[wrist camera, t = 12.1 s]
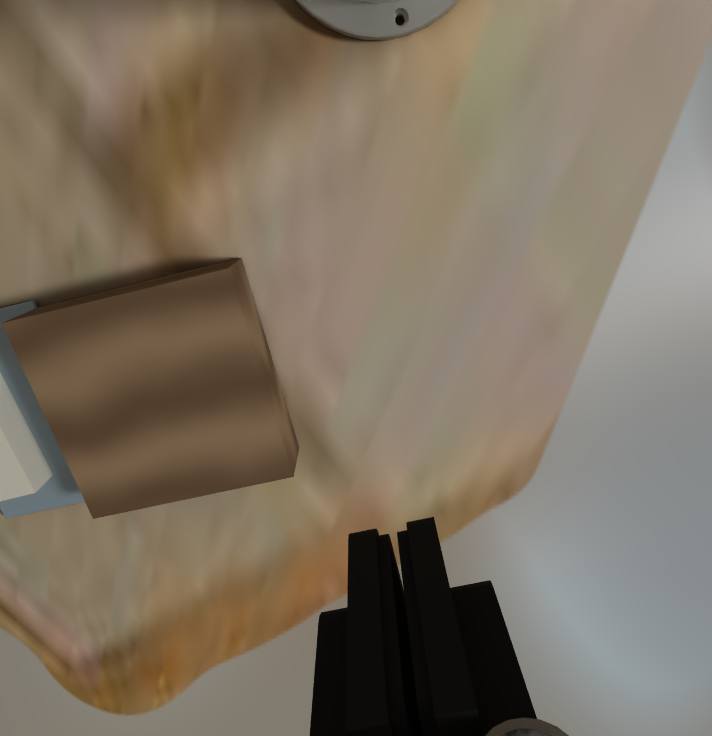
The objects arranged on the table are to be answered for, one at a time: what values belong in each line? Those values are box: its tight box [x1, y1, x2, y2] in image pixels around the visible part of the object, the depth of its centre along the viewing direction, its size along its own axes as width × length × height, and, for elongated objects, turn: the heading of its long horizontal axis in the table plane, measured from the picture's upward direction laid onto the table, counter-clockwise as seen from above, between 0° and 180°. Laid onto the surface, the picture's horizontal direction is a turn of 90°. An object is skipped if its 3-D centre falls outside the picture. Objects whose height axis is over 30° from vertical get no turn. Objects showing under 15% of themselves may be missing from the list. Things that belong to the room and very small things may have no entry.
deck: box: [1, 258, 299, 519], centre depth 36 cm, size 14×14×4 cm
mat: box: [0, 300, 85, 518], centre depth 39 cm, size 15×9×1 cm, turn 13°
